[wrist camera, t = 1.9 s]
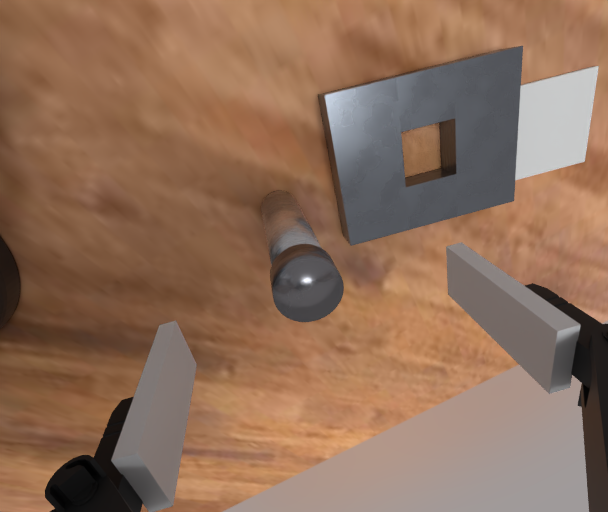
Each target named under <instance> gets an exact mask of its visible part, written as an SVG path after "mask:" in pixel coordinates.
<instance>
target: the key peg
mask: <svg viewBox="0 0 608 512" xmlns="http://www.w3.org/2000/svg"><path fill="white" fill-rule="evenodd" d="M261 212H262V218H263V223H264V228H265V234H266V239H267V244H268V250H269V255H270V261H271V270H270V281H271V287H272V293H273V298H274V302H275V305H276V307H277V309H278V310H279V311H280V312H281V313H282V314H283V315H284V316H286V317H287V318H289V319H291V320H294V321H299V322H311V321H315V320H319V319H321V318H323V317H325V316H327V315H328V314H330V313H331V312H332V311H333V310H334V309H335V308H336V307H337V306H338V304H339V302H340V300H341V298H342V295H343V288H344V286H343V281H342V278H341V275H340V274H339V272H338V270H337V268H336V266H335V265H334V263H333V261H332V259H331V257H330V256H329V255H328V253H327V252H326V251H324V250H323V249H322V248H321V246H320V244H319V242H318V240H317V238H316V236H315V235H314V233H313V231H312V229H311V227H310V225H309V223H308V221H307V219H306V217H305V215H304V214H303V212H302V210H301V208H300V206H299V204H298V202H297V200H296V199H295V197H294V196H293V195H292V194H290V193H289V192H287V191H282V190H278V191H274V192H271V193H270V194H268V195H267V196H266V197H265V198H264V200H263V202H262V205H261Z"/></svg>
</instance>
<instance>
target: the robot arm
mask: <svg viewBox="0 0 608 512" xmlns="http://www.w3.org/2000/svg"><path fill="white" fill-rule="evenodd" d="M446 253H447V278H448V295H449V296H450V297H451V298H452V299H453V300H455V301H456V302H457V303H458V304H459V305H460V306H461V307H462V308H463V309H464V310H465V311H466V312H467V313H468V314H469V315H470V316H471V317H472V318H473V319H474V320H475V321H476V322H477V323H478V324H479V325H480V326H481V327H482V328H483V329H484V330H485V331H486V332H487V333H488V334H489V335H490V336H491V337H492V338H493V339H494V340H495V341H496V342H497V343H498V344H499V345H500V346H501V347H502V348H503V349H504V350H505V351H506V352H507V353H508V354H509V355H510V356H511V357H512V358H513V359H514V360H515V361H516V362H517V363H518V364H519V365H521V366H522V368H523V369H524V370H525V371H527V372H528V373H529V374H530V375H531V376H532V377H533V378H534V379H535V380H536V381H537V382H538V383H539V384H540V385H541V386H542V387H543V388H544V389H545V390H546V391H547V392H548V393H549V394H550V393H553V392H557V391H560V390H564V389H567V388H570V384H571V378H572V375H573V376H575V377H576V378H577V379H578V380H579V381H580V382H582V385H581V390H580V396H579V401H578V406H581V407H582V417H583V431H584V445H585V459H586V473H587V487H588V501H589V512H608V324H601V323H600V322H598V321H597V320H595V319H594V318H592V317H591V316H589V315H588V314H586V313H584V312H583V311H581V310H580V309H578V308H577V307H575V306H574V305H572V304H571V303H568V302H567V301H566V300H564V299H563V298H561V297H560V298H559V296H558V295H557V294H555V293H554V292H552V291H550V290H549V289H547V288H544V287H542V286H539V285H536V284H533V283H532V284H529V285H525V286H524V285H522V284H521V283H520V282H518V281H517V280H515V279H514V278H512V277H511V276H509V275H508V274H506V273H505V272H504V271H502V270H501V269H499V268H498V267H496V266H495V265H493V264H492V263H491V262H489V261H488V260H486V259H485V258H483V257H482V256H480V255H479V254H477V253H476V252H475V251H473V250H472V249H470V248H469V247H467V246H466V245H464V244H463V243H462V242H461V243H458V244H454V245H450V246H447V247H446ZM19 294H20V281H19V275H18V270H17V267H16V264H15V262H14V259H13V257H12V255H11V253H10V251H9V250H8V248H7V246H6V245H5V243H4V242H3V240H2V239H1V238H0V328H1V327H3V326H4V325H5V324H6V322H7V321H8V320H9V319H10V317H11V316H12V314H13V312H14V311H15V308H16V306H17V303H18V299H19ZM196 366H197V364H196V362H195V360H194V358H193V356H192V353H191V351H190V349H189V347H188V345H187V343H186V341H185V339H184V337H183V334H182V332H181V330H180V328H179V326H178V324H177V322H176V321H172V322H169V323H165V324H161V325H159V328H158V331H157V333H156V336H155V339H154V342H153V345H152V347H151V350H150V353H149V356H148V359H147V361H146V364H145V367H144V370H143V373H142V375H141V378H140V381H139V384H138V387H137V389H136V392H135V395H134V397H131V398H128V399H124V400H122V401H121V402H120V403H119V405H118V406H117V407H116V408H115V410H114V411H113V412H112V414H111V417H110V419H109V422H108V424H107V428H106V429H105V431H104V434H103V438H102V439H101V441H100V444H99V446H98V449H97V451H96V453H95V456H94V458H93V457H91V456H90V455H81V456H78V457H76V458H73V459H72V460H70V461H68V462H67V463H65V464H64V465H63V466H62V467H61V468H60V469H58V470H57V471H56V472H55V473H54V475H53V476H52V478H51V479H50V480H49V482H48V484H47V487H46V489H45V498H46V499H47V500H48V501H49V502H50V503H51V504H52V505H53V506H54V507H55V509H54V510H52V511H50V512H140V511H141V507H142V503H143V504H144V506H145V507H146V508H147V510H148V511H149V512H154V511H158V510H161V509H164V508H168V507H171V506H173V503H174V497H175V491H176V485H177V479H178V473H179V467H180V461H181V455H182V449H183V443H184V438H185V432H186V426H187V420H188V414H189V408H190V402H191V396H192V390H193V384H194V378H195V372H196Z"/></svg>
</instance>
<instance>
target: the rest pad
mask: <svg viewBox="0 0 608 512" xmlns="http://www.w3.org/2000/svg"><path fill="white" fill-rule="evenodd" d="M598 67H599V66H593V67H589V68H585V69H581V70H577V71H574V72H570V73H566V74H562V75H558V76H554V77H550V78H546V79H542V80H538V81H534V82H530V83H526V84H523V85H521V88H520V105H519V123H518V140H517V157H516V174H515V180H518V179H522V178H525V177H529V176H533V175H537V174H540V173H544V172H548V171H551V170H555V169H559V168H562V167H566V166H570V165H573V164H577V163H581V162H585V156H586V149H587V142H588V135H589V128H590V121H591V115H592V108H593V101H594V94H595V87H596V80H597V73H598Z"/></svg>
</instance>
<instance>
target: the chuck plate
mask: <svg viewBox="0 0 608 512" xmlns="http://www.w3.org/2000/svg"><path fill="white" fill-rule="evenodd" d="M522 53H523V46H518V47H512V48H506V49H500V50H496V51H492V52H488V53H484V54H480V55H476V56H472V57H468V58H464V59H460V60H456V61H452V62H447V63H443V64H439V65H435V66H431V67H427V68H423V69H419V70H415V71H411V72H407V73H403V74H399V75H395V76H391V77H387V78H383V79H379V80H375V81H371V82H367V83H363V84H359V85H355V86H351V87H347V88H343V89H339V90H335V91H331V92H327V93H323V94H319V95H318V99H319V104H320V110H321V115H322V121H323V126H324V132H325V137H326V143H327V148H328V154H329V159H330V165H331V170H332V176H333V181H334V187H335V192H336V198H337V203H338V209H339V214H340V220H341V226H342V231H343V236H344V237H345V238H346V240H347V241H348V243H349V244H350V245H355V244H359V243H362V242H366V241H370V240H373V239H377V238H381V237H384V236H388V235H391V234H395V233H399V232H402V231H406V230H410V229H413V228H417V227H421V226H424V225H428V224H432V223H435V222H439V221H443V220H446V219H450V218H453V217H457V216H461V215H464V214H468V213H472V212H475V211H479V210H483V209H486V208H490V207H494V206H497V205H501V204H505V203H508V202H512V201H514V192H515V174H516V157H517V140H518V123H519V105H520V88H521V71H522ZM438 122H440V143H441V168H440V169H437V170H433V171H429V172H425V173H422V174H418V175H414V176H410V177H406V178H405V173H404V162H403V150H402V139H401V132H403V131H407V130H411V129H415V128H419V127H423V126H427V125H431V124H434V123H438Z"/></svg>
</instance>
